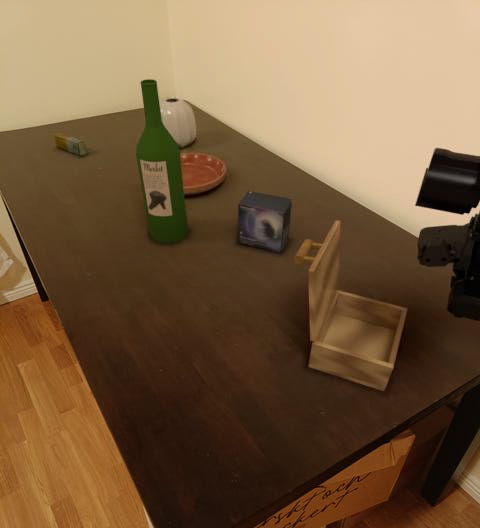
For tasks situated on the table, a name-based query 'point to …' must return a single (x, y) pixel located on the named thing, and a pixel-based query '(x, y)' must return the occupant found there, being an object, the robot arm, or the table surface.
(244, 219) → the small box
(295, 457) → the table surface
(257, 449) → the table surface
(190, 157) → the saucer
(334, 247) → the chest lid
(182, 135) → the vase
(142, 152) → the wine bottle
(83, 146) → the medication box
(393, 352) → the chest
